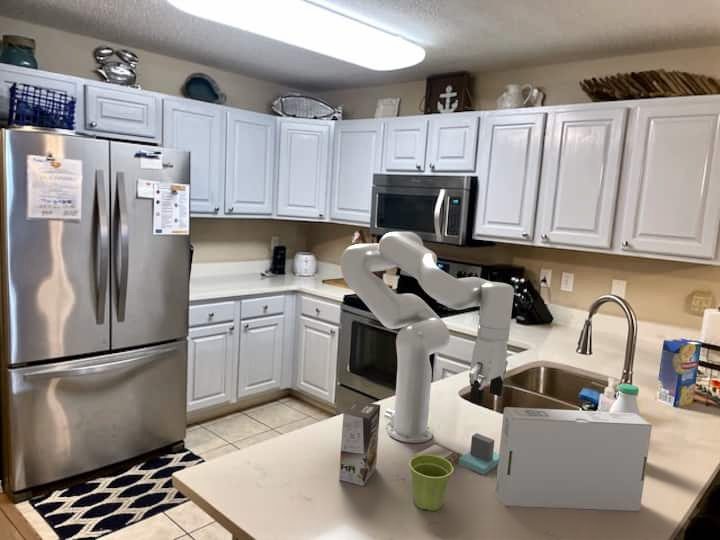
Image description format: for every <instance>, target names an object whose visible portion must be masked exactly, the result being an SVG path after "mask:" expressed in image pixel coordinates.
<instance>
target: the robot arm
mask: <svg viewBox="0 0 720 540" xmlns="http://www.w3.org/2000/svg"><path fill="white" fill-rule="evenodd" d="M437 263H438V258H437V254H436V253H435V252H433V250H430V249H428V248H427V247H425V246H424V243H423V240H422V238H421V237H420V235H418V234H416V233H415V232H413V231H390V232H388V233H386V234H384V235H383V236H382V237H381V238H380V240H379V242H378V243H358V244H357V243H356V244H354V245H350V246H348V247H347V248H346V249H345V250H344V251H343V252H342V255H341V258H340V270H341V275H342V277H343V279H344V281H345V283H346V285H347V286H348V287H349V289H350V290H352V292H354V294H356V295H357V296H358V297H359V299H361V301H362V302H363V303H364V304H365V305H366V307H367V308H368V309H369V311H370V312H371V313H372V314H373V315H374V316H375V317H376V319H377V320H378V321H379V322H380V323H381V324H382V325H383V326H384V327H385V328H386V329H389V330H394V329H395V330H396V329H400V328H401V329H400V330H399V332H398V333H397V335H396V339H395V346H396V355H397V358H396V359H397V371H396V384H395V385H396V388H395V401H394V410H393V409H392V408H387V409H386V411H385V413H384V417H383V418H384V419H387V420H389V421H390V422H389V424H388V425H387V433H388V434H389V436H391V438H393V439H395V440H397V441H400V442H404V443H411V444H420V443H424V442H427V441H429V440H431V439H432V437H433V433H434V432H433V429H432V427H430V426H429V424H428V423H429V411H430V402H431V401H430V400H431V388H432V374H433V372H432V364H431V361H430V355H433V354H435V353H438V352H441V351H442V350H444V349H445V348H447V347H448V345H449V343H450V340H451V336H450V335H451V333H450V331H449V328H448V325H446V323H445V322H444V320H443V319H441V317H440V316H439V315H438V314H437V313H436V312H435V311H434V310H433V309H432V308H431V307H430V306H429V305H428V303H426V301H425V300H423V299H422V298H421V297H420V296H418V295H416V294H414V293H406V292H405V293H396V292H395V291H394V290H393V289H392V288H390V286H388V284H387V283H386V282H385V281H384V280H383V279H382V278H380V277H378V276H377V275H376V274H374V273H373V272H381V271H387V270H390V269H392V268H393V269H394V268H396V267H397V268H399V269H401V270H402V271H404V272H405V273H406V274H408V275H410V276H412V277H413V278H414V279H416V280H417V282H418V285H419V286H420V287H421V289H422V290H423V291H424V293H426V294H427V295H428V296H429V297H430V298H432V299H434V300H436V302H438V303H440V304H442V305H443V306H444V307H447V308H449V309H451V310H452V309H453V310H457V311H458V310H459V311H460V310H465V309H468V308H474V307H479V313H478V314H479V315H478V325H477V336H476V337H477V338H476V340H475V343H474V346H473V350H472V357H471V363H470V369H469V373H468V378H469V384H470V385H469V386H470V394H469V395H470V396H469V402H470V403H471V404H474V405H477V406H479V407H481V406H482V405H483V401H484V394H485V393H484V392H485V391H484V389H483V388H484V386H485V384H486V382H488V381H490V385H489V394H491V395H494V396H497V397H502V395H503V389H504V388H503V386H504V380H505V374H506V373H507V367H508V363H509V361H508V360H507V358H508V357H507V355H508V354H507V353H508V342H509V341H510V340H509V339H510V331H511V330H510V329H511V320H512V312H513V311H512V310H513V303H514V295H515V288H514V287H513V285H511V284H508V283H505V282H498V281H490V280H487V279H484V278H481V277H477V276H470V277H461V278H456V277H454V276H452V275H450V274H449V273H447V272H446V271H445V270H442V269H441V268H440V267H438V265H437ZM479 381H480V382H479Z"/></svg>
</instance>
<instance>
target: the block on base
mask: <svg viewBox="0 0 720 540" xmlns="http://www.w3.org/2000/svg"><path fill="white" fill-rule="evenodd" d="M470 441H471V443H470V450H469V451H468V452H466V453H465V454H462V456H461V457H460V458H459V462H458V463H457V464H458V465H460V464H461V465H460V466H463V467H465V468H467V469H470V470H471V471H474V472H476V473H478V474H481V475H485V474H487V473H488V472H489V471H492V469H494V468H495V467H496V466H498V462H499V452H496V451H494V449H495V447H494V446H495V439H493V438H490V437H487V436H486V435H483V434H481V433H477V432H476V433H475V434H473V435H472V436H471V440H470Z"/></svg>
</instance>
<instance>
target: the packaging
mask: <svg viewBox="0 0 720 540" xmlns="http://www.w3.org/2000/svg"><path fill="white" fill-rule="evenodd" d="M652 428H653V426H652V424H651V423H650V422H648V420H647V421H646V420H645V419H644V418H643V417H642V416H641V417H640V416H638V415H637V414H635V413H619V412H610V411H593V410H573V409H555V408H552V409H551V408H535V407H534V408H533V407H512V406H509V407H508V406H505V407H504V408H503V414H502V424H501V433H500V442H499V443H500V444H499V452H498V454H499V462H498V465H497V473H496V482H495V483H496V484H495V493H496V494H497V496H498V499H499V500H500V503H501V504H502V506H503V507H505V506H507V507H527V508H529V507H532V508H552V509H553V508H554V509H555V508H556V509H577V510H580V509H581V510H604V511H605V510H606V511H632V512H641V507H642V506H641V504H642V498H643V492H644V485H645V484H644V483H645V478H646V471H647V463H648V456H649V450H650V442H651V435H652Z"/></svg>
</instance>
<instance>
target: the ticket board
mask: <svg viewBox="0 0 720 540" xmlns="http://www.w3.org/2000/svg"><path fill="white" fill-rule="evenodd" d="M418 455H435V456H439V457H442V458H444V459H446V460H447V461H449V462H450V463H451V464H452V465H453V466H454V464H455V465H456V464H458V463H457V462H459V458H460V457H461V456H463V453H461V452H458V451H456V450H454V449H451V448H449V447H446V446H445V445H441V444H439V443H437V442H435V443H433V444H432V445H430V446H428V447H426V448H424V449H422V450H421V451H419V452H417V453H415V454H413V457H415V456H418ZM413 457H412V458H413Z"/></svg>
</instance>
